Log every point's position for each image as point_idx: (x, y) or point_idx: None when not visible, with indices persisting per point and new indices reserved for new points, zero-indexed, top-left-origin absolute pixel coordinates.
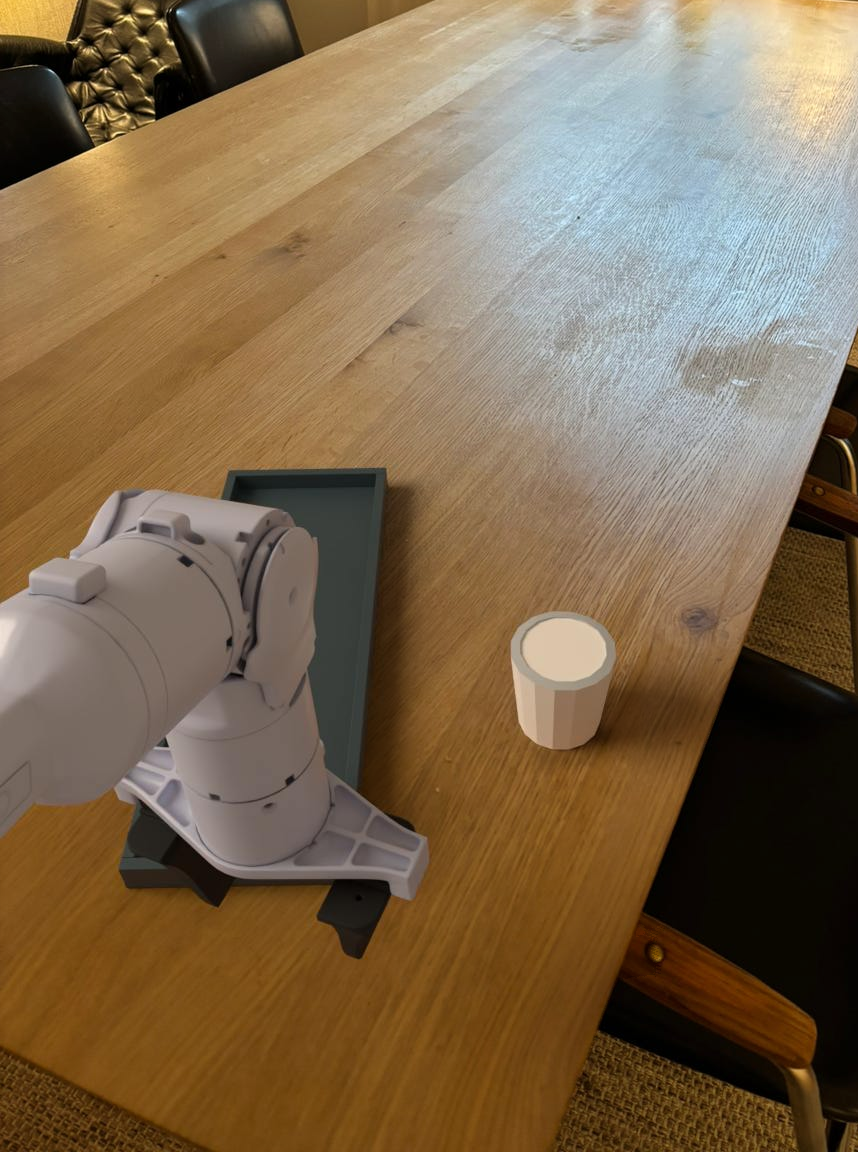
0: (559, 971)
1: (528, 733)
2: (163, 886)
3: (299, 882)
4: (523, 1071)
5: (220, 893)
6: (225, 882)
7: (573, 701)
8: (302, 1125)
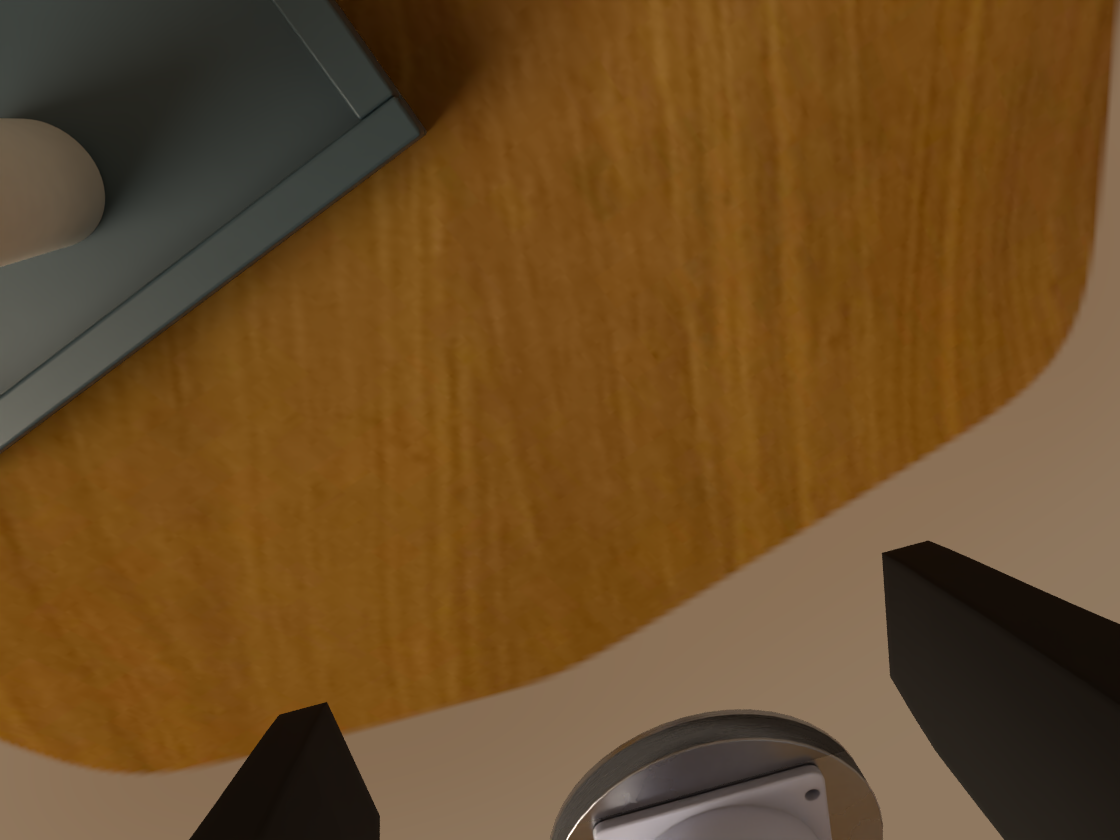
0: (1023, 25)
1: None
2: (23, 436)
3: (305, 224)
4: (1010, 280)
5: (361, 835)
6: (347, 823)
7: None
8: (676, 583)
